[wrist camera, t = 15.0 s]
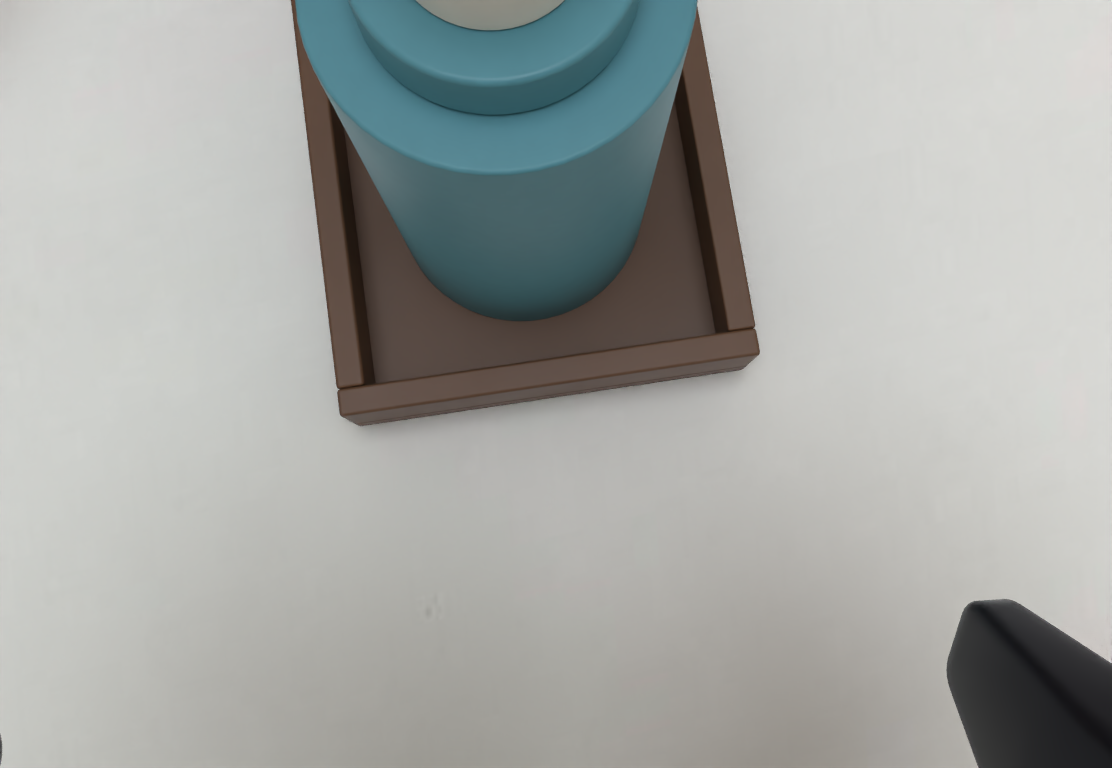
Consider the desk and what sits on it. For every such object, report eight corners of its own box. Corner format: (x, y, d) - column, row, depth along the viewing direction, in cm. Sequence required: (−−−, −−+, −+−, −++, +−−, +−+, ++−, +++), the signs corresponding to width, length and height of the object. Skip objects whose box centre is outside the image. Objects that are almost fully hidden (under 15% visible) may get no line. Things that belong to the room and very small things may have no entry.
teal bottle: (637, 327, 23) (739, 61, 10) (392, 315, 23) (175, 35, 10) (646, 96, 23) (752, -431, 11) (410, 84, 24) (231, -453, 11)
